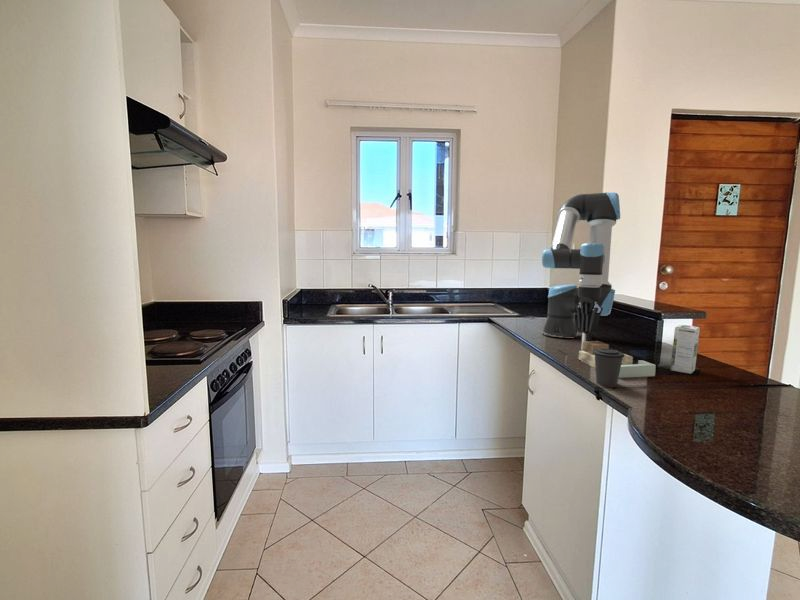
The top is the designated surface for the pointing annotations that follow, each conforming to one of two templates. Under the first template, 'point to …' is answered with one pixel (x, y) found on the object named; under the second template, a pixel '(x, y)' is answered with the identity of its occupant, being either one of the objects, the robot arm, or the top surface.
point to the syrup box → (685, 348)
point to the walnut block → (593, 346)
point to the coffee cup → (607, 366)
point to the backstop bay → (637, 370)
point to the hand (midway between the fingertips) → (585, 350)
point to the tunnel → (590, 359)
